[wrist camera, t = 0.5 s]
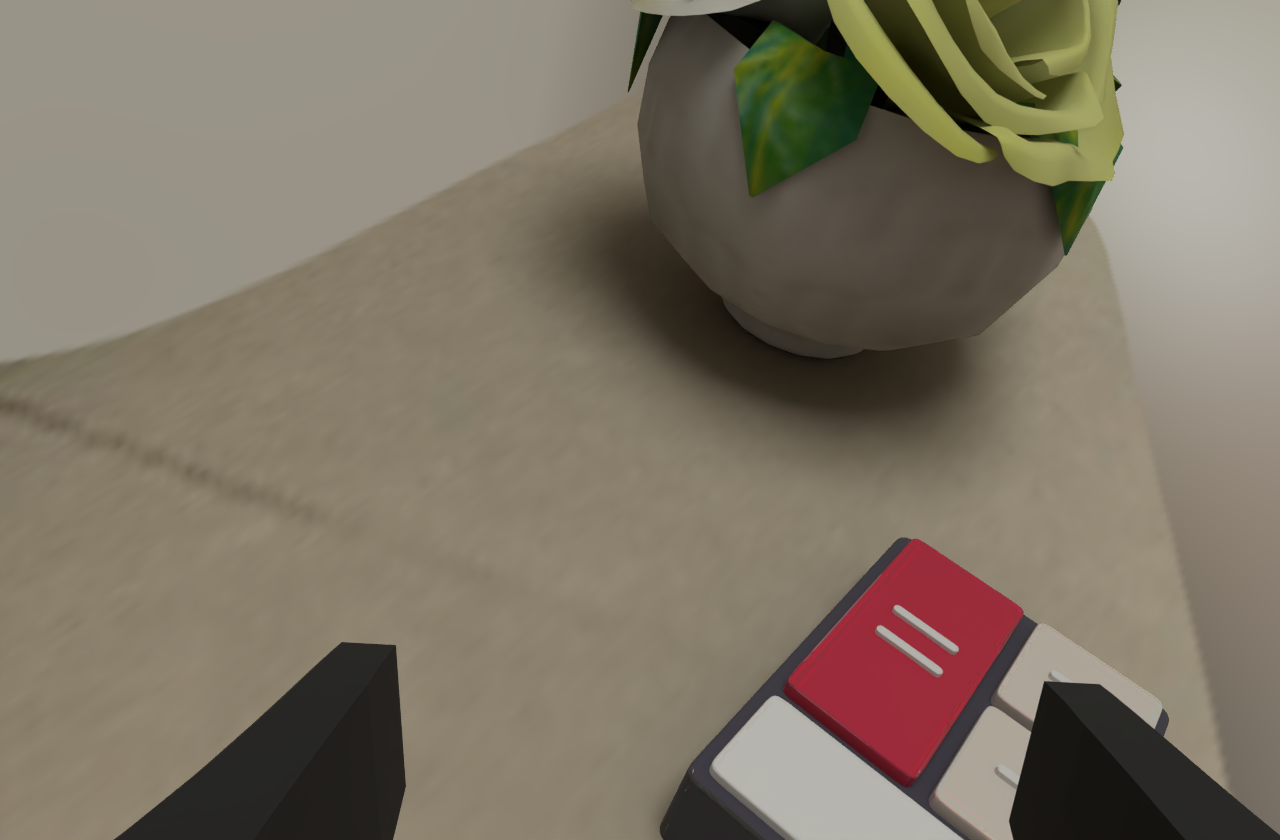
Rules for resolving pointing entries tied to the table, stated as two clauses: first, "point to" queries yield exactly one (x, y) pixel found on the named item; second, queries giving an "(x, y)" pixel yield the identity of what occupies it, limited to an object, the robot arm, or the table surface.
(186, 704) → the table surface
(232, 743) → the robot arm
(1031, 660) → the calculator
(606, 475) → the table surface
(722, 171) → the flower arrangement
